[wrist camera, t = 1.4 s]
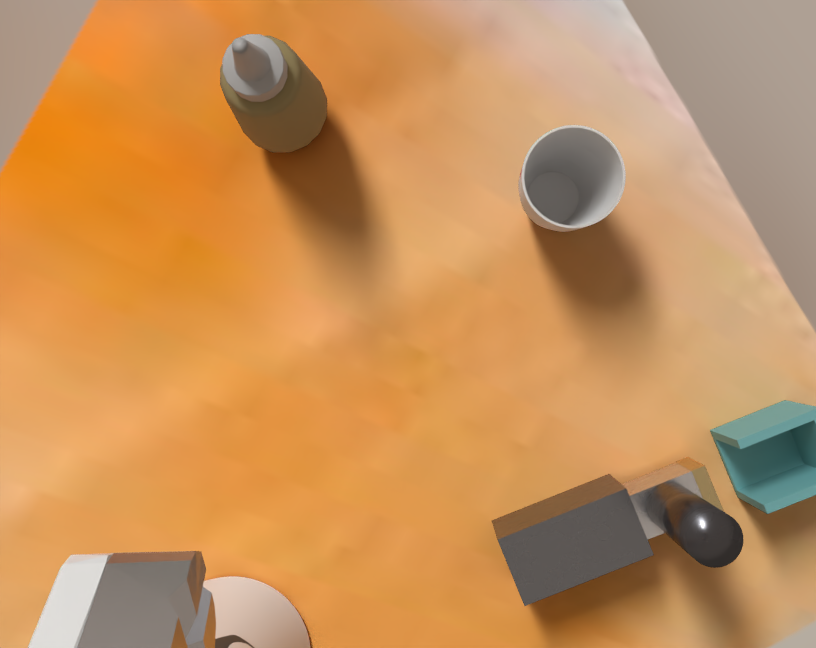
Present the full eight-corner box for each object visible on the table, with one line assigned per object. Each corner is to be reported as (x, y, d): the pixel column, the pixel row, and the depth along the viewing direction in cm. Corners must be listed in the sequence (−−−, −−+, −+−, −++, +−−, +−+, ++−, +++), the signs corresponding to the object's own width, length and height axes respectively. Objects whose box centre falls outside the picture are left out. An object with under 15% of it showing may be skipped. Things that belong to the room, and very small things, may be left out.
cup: (567, 138, 68) (591, 105, 58) (613, 213, 68) (644, 193, 58) (492, 183, 68) (502, 159, 58) (537, 258, 68) (555, 247, 58)
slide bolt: (530, 568, 67) (556, 632, 53) (512, 526, 67) (534, 579, 53) (705, 499, 67) (778, 545, 53) (688, 456, 67) (756, 491, 53)
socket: (737, 497, 67) (767, 513, 61) (709, 430, 68) (737, 440, 62) (812, 467, 67) (850, 481, 61) (784, 400, 67) (819, 407, 61)
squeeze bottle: (323, 170, 69) (284, 115, 51) (238, 152, 69) (170, 91, 51) (341, 85, 69) (309, -1, 51) (257, 67, 69) (195, -23, 51)
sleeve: (516, 581, 68) (524, 605, 62) (491, 520, 68) (497, 539, 62) (634, 534, 68) (653, 555, 62) (609, 473, 68) (626, 488, 62)
